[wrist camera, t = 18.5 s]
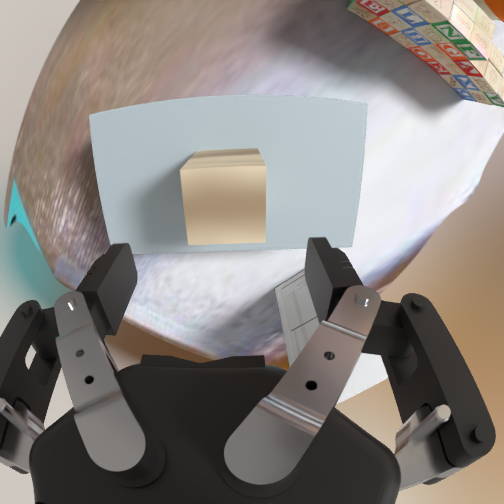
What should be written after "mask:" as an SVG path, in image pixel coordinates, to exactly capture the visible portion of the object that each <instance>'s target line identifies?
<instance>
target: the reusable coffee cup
mask: <svg viewBox="0 0 504 504" xmlns="http://www.w3.org/2000/svg"><path fill="white" fill-rule="evenodd" d="M473 1H474V2H475V3H476V4H477V6H479V7H480V8H481V9H482V10H483V11H484V13H485V14H486V15H487V16H488V17H489V18H490V19H492V20H501V21H503V22H504V0H473Z"/></svg>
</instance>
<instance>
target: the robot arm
mask: <svg viewBox="0 0 504 504" xmlns="http://www.w3.org/2000/svg"><path fill="white" fill-rule="evenodd" d="M305 280H306V283H307V286H308V289H309V292H310V296H311V299H312V302H313V305H314V308H315V311H316V314H317V318H318V321H319V324H320V325H319V326H318V328H317V329H316V331H315V332H314V334H313V335H312V337H311V338H310V340H309V341H308V343H307V344H306V345H305V347H304V348H303V350H302V351H301V353H300V354H299V355H298V357H297V358H296V360H295V361H294V362H293V364H292V365H291V367H290V368H289V369H288V371H286V370H284V369H282V368H279V367H276V366H272V365H267V364H265V359H264V355H260V356H233V357H228V358H224V359H219V360H215V361H210V362H205V363H197V362H192V361H188V360H184V359H180V358H177V357H173V356H160V355H142V359H141V363H139V364H135V365H131V366H128V367H126V368H124V369H122V370H120V371H119V370H118V368H117V366H116V364H115V362H114V359H113V358H112V355H111V353H110V351H109V349H108V346H107V344H106V342H105V340H104V338H105V335H116V333H117V331H118V328H119V326H120V323H121V320H122V318H123V316H124V313H125V311H126V308H127V306H128V303H129V301H130V298H131V296H132V294H133V291H134V289H135V287H136V284H137V270H136V266H135V263H134V259H133V255H132V251H131V247H130V245H129V244H128V243H114V244H112V245H111V246H110V248H109V249H108V251H107V252H106V254H103V255H102V256H101V257H99V258H98V259H97V260H96V261H95V262H94V264H93V265H92V267H91V269H89V271H88V272H87V275H85V277H84V279H83V280H82V282H81V283H80V285H79V286H78V288H77V289H76V291H72V292H68V293H66V294H64V295H62V296H61V297H60V298H59V299H58V300H57V301H56V303H55V305H54V307H52V308H48V309H41V307H40V305H39V303H38V302H37V301H35V300H30V301H27V302H25V303H23V304H22V305H20V306H19V308H17V310H16V311H15V313H14V315H13V316H12V318H11V319H10V321H9V323H8V324H7V326H6V328H5V330H4V331H3V333H2V335H1V337H0V462H1V463H3V464H4V465H6V466H9V467H10V468H12V469H14V470H16V471H17V472H19V473H22V474H27V473H31V477H32V481H33V487H34V495H35V504H395V501H396V498H397V495H398V492H399V491H401V490H404V489H407V488H410V487H413V486H415V485H418V484H421V483H423V484H427V485H431V484H435V483H437V482H439V481H441V480H443V479H445V478H447V477H449V476H451V475H453V474H454V473H456V472H458V471H460V470H462V469H463V468H465V467H467V466H468V465H470V464H471V463H473V462H475V461H476V460H478V459H480V458H481V457H483V456H484V455H486V454H487V453H488V452H489V451H490V450H491V449H492V447H493V445H494V443H495V438H496V435H495V434H496V433H495V428H494V425H493V422H492V420H491V417H490V415H489V412H488V410H487V407H486V405H485V403H484V400H483V398H482V396H481V394H480V391H479V389H478V387H477V385H476V383H475V381H474V379H473V376H472V374H471V372H470V370H469V368H468V366H467V364H466V362H465V360H464V358H463V356H462V355H461V353H460V351H459V349H458V347H457V346H456V344H455V342H454V340H453V338H452V336H451V334H450V333H449V331H448V329H447V328H446V326H445V324H444V322H443V321H442V319H441V317H440V316H439V314H438V313H437V311H436V309H435V308H434V306H433V305H432V303H431V302H430V301H429V300H428V299H427V298H425V297H424V296H422V295H419V294H415V293H409V294H406V295H405V296H403V298H402V300H401V302H400V303H394V302H386V301H382V300H381V298H380V295H379V294H378V293H377V292H376V291H375V290H373V289H372V288H369V287H367V286H364V285H363V284H362V282H361V280H360V278H359V276H358V275H357V273H356V271H355V269H354V268H353V266H352V264H351V263H350V262H349V259H348V258H347V256H346V254H345V253H344V252H342V251H341V250H340V249H338V248H332V247H331V245H330V243H329V242H328V240H327V238H326V237H309V238H308V242H307V252H306V261H305ZM31 345H32V346H33V348H34V349H35V351H36V354H35V357H34V359H33V361H32V364H31V366H30V368H29V370H28V368H27V367H26V363H25V357H26V354H27V352H28V350H29V348H30V346H31ZM361 353H365V354H373V355H381V358H382V361H383V364H384V366H385V369H386V372H387V375H388V378H389V381H390V384H391V387H392V390H393V393H394V396H395V400H396V403H397V406H398V410H399V413H400V416H401V420H402V423H403V425H402V426H401V427H400V428H399V430H398V431H397V434H396V439H395V440H396V450H395V453H394V454H393V453H392V451H391V450H390V449H389V448H388V447H387V446H385V445H384V444H383V443H381V442H380V441H378V440H377V439H376V438H374V437H373V436H371V435H370V434H369V433H367V432H366V431H365V430H363V429H362V428H361V427H359V426H358V425H357V424H356V423H354V422H353V421H351V420H350V419H349V418H348V417H346V416H345V415H344V414H342V413H341V412H340V411H339V410H337V409H336V408H335V405H336V403H337V402H338V400H339V398H340V396H341V394H342V392H343V390H344V388H345V386H346V384H347V382H348V380H349V378H350V376H351V374H352V372H353V370H354V368H355V366H356V364H357V361H358V359H359V357H360V355H361ZM61 367H62V370H63V373H64V376H65V380H66V384H67V387H68V390H69V394H70V397H71V400H72V403H73V406H74V407H73V408H72V409H70V410H69V411H68V412H67V413H65V414H64V415H63V416H62V417H61V418H59V419H58V420H57V421H56V422H54V423H53V424H52V425H51V426H49V427H48V428H47V429H46V430H45V428H44V420H45V416H46V413H47V410H48V406H49V403H50V399H51V396H52V393H53V390H54V387H55V384H56V381H57V378H58V375H59V373H60V370H61Z"/></svg>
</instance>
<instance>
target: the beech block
mask: <svg viewBox="0 0 504 504" xmlns="http://www.w3.org/2000/svg"><path fill="white" fill-rule="evenodd" d="M180 176H181V186H182V196H183V205H184V214H185V222H186V231H187V238H188V245H210V244H237V243H266V165H265V163H264V160H263V158H262V156H261V154H260V152H259V150H258V148H250V149H221V150H204V151H196V152H195V153H194V154H193V155H192V157H191V158H190V159H189V160H188V161H187V162H186V163H185V165H184V166H183V167H182V168H181V169H180Z"/></svg>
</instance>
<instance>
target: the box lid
mask: <svg viewBox="0 0 504 504" xmlns="http://www.w3.org/2000/svg"><path fill="white" fill-rule="evenodd" d="M89 120H90V131H91V141H92V149H93V157H94V164H95V171H96V177H97V183H98V189H99V194H100V200H101V205H102V210H103V214H104V219H105V224H106V228H107V232H108V236H109V240H110V244H111V245H112V244H114V243H128V244H129V245H130V247H131V251H132V254H151V253H181V252H212V251H244V250H276V249H307V242H308V238H309V237H326V238H327V240H328V242H329V243H330V245H331V247H332V248H341V247H352V244H353V238H354V232H355V226H356V219H357V212H358V205H359V198H360V190H361V181H362V172H363V162H364V151H365V139H366V123H367V103H361V102H354V101H346V100H338V99H329V98H319V97H307V96H290V95H222V96H205V97H193V98H182V99H173V100H165V101H158V102H151V103H145V104H139V105H133V106H128V107H122V108H118V109H113V110H108V111H104V112H99V113H95V114H91V115H89ZM250 148H258V150H259V152H260V154H261V156H262V158H263V160H264V163H265V165H266V243H237V244H210V245H188V238H187V231H186V222H185V214H184V205H183V196H182V186H181V176H180V169H181V168H182V167H183V166H184V165H185V163H186V162H187V161H188V160H189V159H190V158H191V157H192V155H193V154H194V153H195V152H196V151H204V150H221V149H250Z"/></svg>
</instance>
